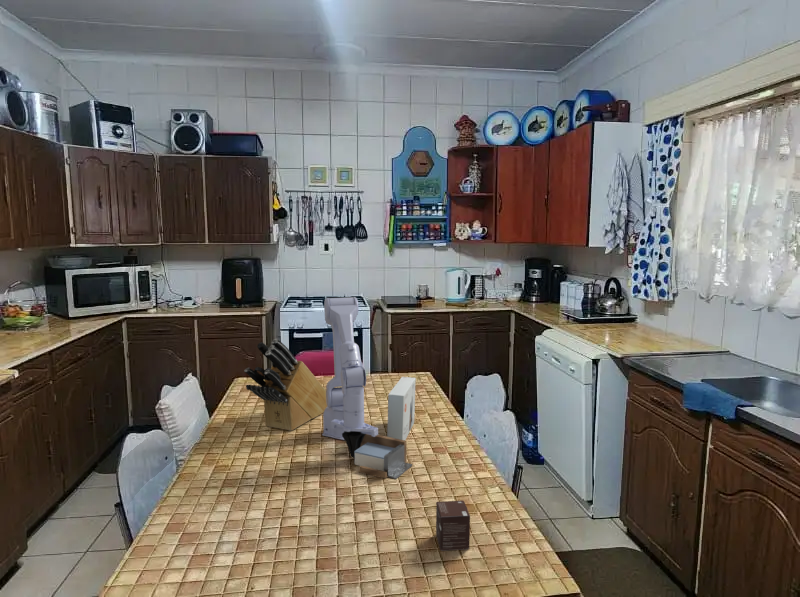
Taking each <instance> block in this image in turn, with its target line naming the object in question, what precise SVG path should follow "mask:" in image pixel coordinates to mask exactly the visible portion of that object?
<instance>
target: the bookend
mask: <svg viewBox="0 0 800 597" xmlns="http://www.w3.org/2000/svg"><path fill="white" fill-rule="evenodd" d="M411 467H413V464H412V463H409V462H404V444H400V445H398V446H397V447H396V448H394V449H393V450H392V451H390V452H389V453H388V454H386V455H385V456H384V471H385V472H387V478H390V479H394V480H397V479H398V478H400V477H401V476H402V475H403V474H404V473H405V472H407V471H408V470H409V469H410V468H411Z"/></svg>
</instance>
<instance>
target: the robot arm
mask: <svg viewBox="0 0 800 597" xmlns="http://www.w3.org/2000/svg"><path fill="white" fill-rule="evenodd" d="M323 308H324V309H323V310H324V322H325V324H326V325H329V326H330V328H331V330H332V342H333V348H332V349H333V364H334V365H333V366H334V367H333V368H334V370H333V371H334V372H333V373H334V376H333V377H332V378H331V379H329V381H328V382H327V383H326V385H325V386H326V388H325V390H326V403H327V407H326V409H325V410H324V413H322V414H323V415H322V416H323V417H322V418H323V419H322V420H323V422H322V423H323V433H321V435H322V436H324V437H327V438H328V437H329V438H333V439H336V440H342V441H345V443H346V445H347V448H348V451H349V454H350V455H349V456H350V458H354V459H355V457H354V451H355V450H357V449H358V448H360V446H361V443H362V440H363V438H364V436H365V434H368V435H371V436H373V437H375V436H377V435H379V428H378V427H376V426H373V425H371V424H368V423H366V422H365V391H364V390H365V387H366V386H367V372H366V367H365V366H364V363H363V362H362V359H361V358H362V357H361V352H360V347H359V345H358V344H357V343H356V342H355V339H354V323H355V321H356V319H357V317H358V315H359V300H358V298H357V297H356V296H351V297H326V298H325V299H324V307H323Z"/></svg>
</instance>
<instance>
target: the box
mask: <svg viewBox="0 0 800 597" xmlns="http://www.w3.org/2000/svg"><path fill="white" fill-rule="evenodd" d="M435 505H436V508H435V510H436V511H435V513H436V514H435V517H436V518H435V535H436V539H437V543H438V547H439V550H440V551H441V552H443V551H444V552H447V551H448V552H449V551H458V550H469V549H470V539H471V537H470V536H471V533H470V532H471V530H470V529H471V515H470V513H469V510H468V507H467V505H466V502H465V500H463V499H462V500H451V501H450V500H449V501H448V500H447V501H445V500H443V501H436V504H435Z"/></svg>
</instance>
